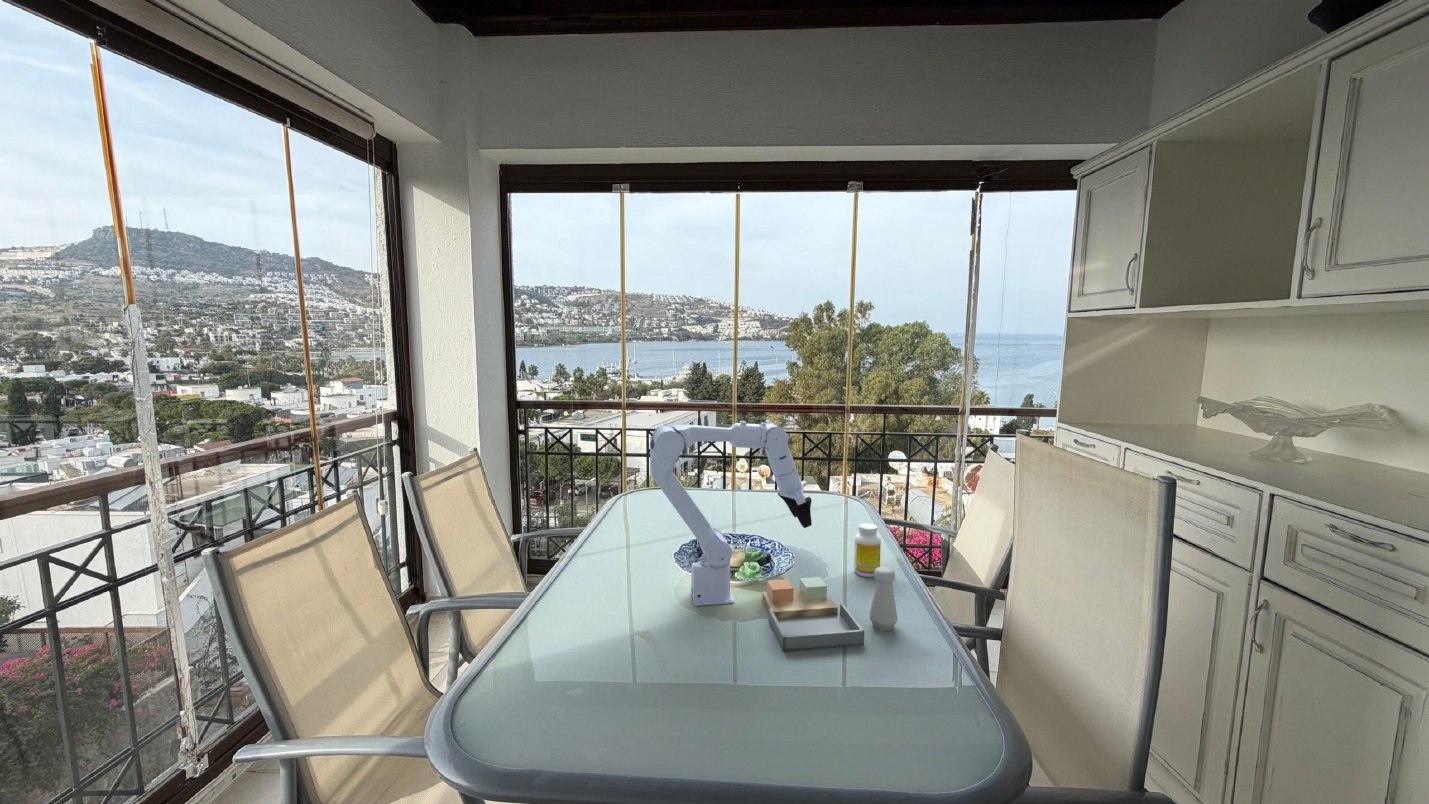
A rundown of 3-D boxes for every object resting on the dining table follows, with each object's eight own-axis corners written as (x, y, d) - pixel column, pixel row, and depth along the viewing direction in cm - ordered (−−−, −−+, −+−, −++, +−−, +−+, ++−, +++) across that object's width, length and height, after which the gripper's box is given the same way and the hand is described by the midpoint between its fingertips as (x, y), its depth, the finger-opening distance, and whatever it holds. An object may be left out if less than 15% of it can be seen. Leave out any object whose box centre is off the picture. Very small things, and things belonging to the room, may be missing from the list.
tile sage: (806, 599, 129) (806, 587, 128) (799, 590, 134) (799, 578, 133) (826, 598, 129) (826, 586, 129) (819, 588, 134) (819, 576, 134)
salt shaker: (898, 634, 117) (900, 575, 116) (870, 632, 118) (871, 573, 117) (895, 621, 123) (897, 564, 121) (868, 618, 124) (869, 562, 122)
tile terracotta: (772, 602, 128) (772, 589, 127) (767, 592, 132) (767, 580, 132) (793, 600, 128) (793, 588, 128) (787, 591, 133) (787, 579, 133)
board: (772, 620, 123) (772, 612, 123) (762, 599, 133) (762, 591, 133) (837, 615, 125) (837, 607, 125) (822, 595, 135) (822, 587, 135)
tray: (783, 651, 111) (783, 637, 111) (768, 621, 123) (768, 608, 122) (864, 644, 113) (864, 630, 113) (842, 616, 125) (842, 603, 125)
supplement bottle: (882, 578, 145) (884, 530, 143) (857, 578, 145) (858, 530, 143) (875, 567, 151) (877, 522, 150) (851, 567, 152) (852, 521, 150)
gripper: (809, 472, 128) (827, 524, 130) (791, 458, 142) (808, 505, 144) (781, 484, 127) (800, 536, 129) (766, 468, 141) (783, 515, 144)
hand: (802, 520), depth 137 cm, fingers open, 7 cm apart
